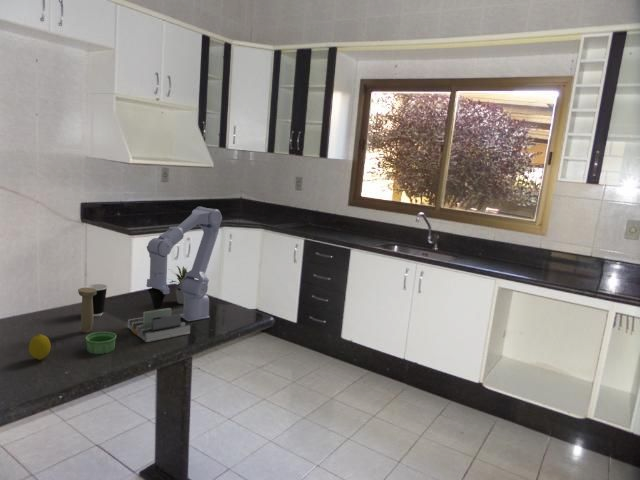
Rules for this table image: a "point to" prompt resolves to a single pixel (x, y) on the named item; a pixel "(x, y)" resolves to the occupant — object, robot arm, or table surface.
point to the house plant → (178, 291)
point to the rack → (159, 327)
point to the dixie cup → (98, 298)
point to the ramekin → (100, 342)
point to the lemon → (39, 346)
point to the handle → (87, 308)
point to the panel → (155, 315)
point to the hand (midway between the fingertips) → (157, 308)
